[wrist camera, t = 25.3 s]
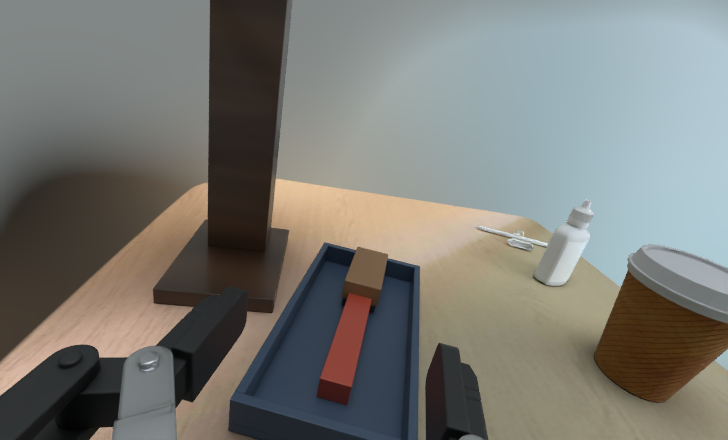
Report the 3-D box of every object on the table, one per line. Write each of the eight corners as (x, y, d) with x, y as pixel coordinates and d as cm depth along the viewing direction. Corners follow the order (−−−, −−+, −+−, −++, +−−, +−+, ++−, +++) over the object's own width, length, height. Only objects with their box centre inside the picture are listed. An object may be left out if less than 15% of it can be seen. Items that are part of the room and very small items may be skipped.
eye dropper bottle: (577, 291, 46) (620, 211, 42) (538, 284, 46) (577, 203, 41) (560, 273, 50) (598, 198, 46) (524, 267, 50) (558, 191, 45)
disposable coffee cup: (634, 422, 28) (724, 304, 23) (556, 336, 36) (610, 237, 31) (718, 418, 30) (817, 310, 25) (626, 338, 38) (687, 246, 34)
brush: (356, 408, 23) (364, 376, 22) (307, 394, 23) (312, 362, 22) (382, 276, 39) (388, 254, 38) (352, 269, 39) (357, 246, 38)
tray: (405, 483, 20) (417, 453, 19) (227, 430, 21) (229, 399, 20) (413, 286, 40) (419, 266, 38) (321, 262, 40) (324, 242, 39)
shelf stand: (272, 313, 31) (322, -156, 18) (153, 303, 29) (117, -223, 17) (287, 240, 44) (323, -68, 31) (205, 230, 42) (207, -101, 29)
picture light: (555, 248, 59) (560, 237, 58) (563, 260, 55) (568, 249, 54) (474, 227, 61) (478, 216, 60) (476, 237, 57) (480, 226, 56)
